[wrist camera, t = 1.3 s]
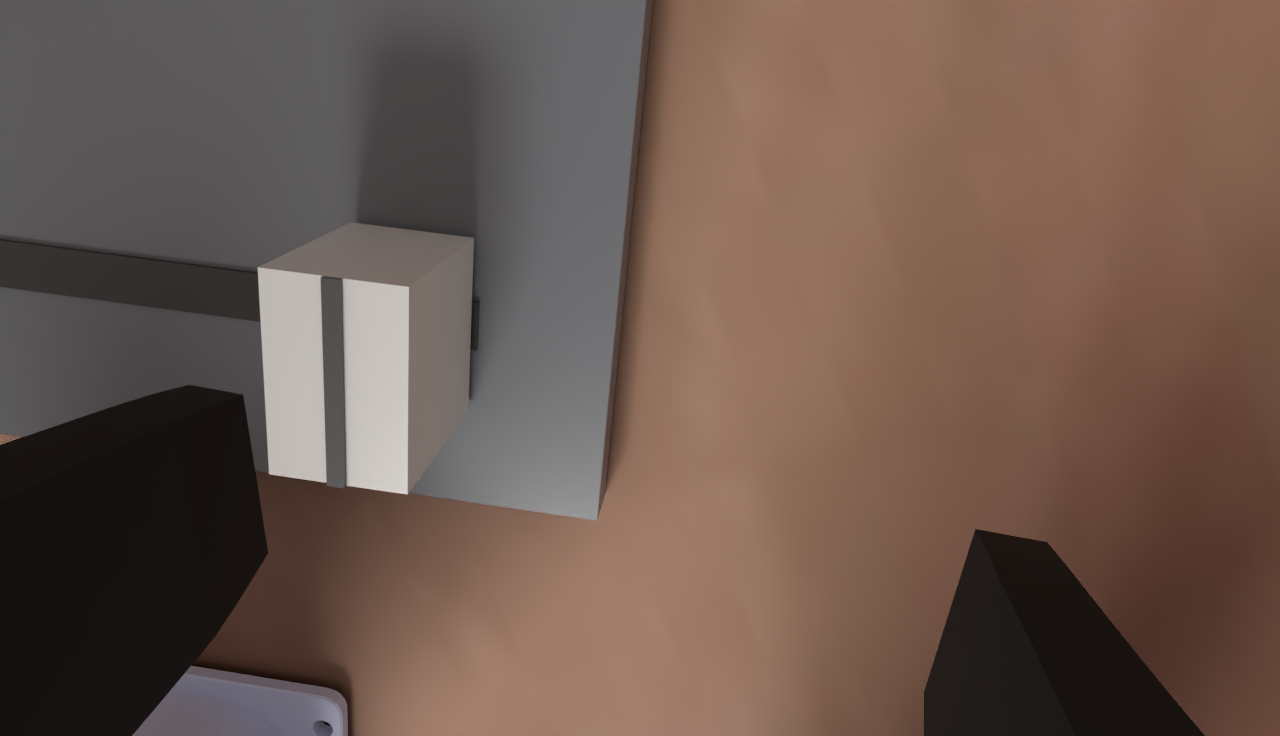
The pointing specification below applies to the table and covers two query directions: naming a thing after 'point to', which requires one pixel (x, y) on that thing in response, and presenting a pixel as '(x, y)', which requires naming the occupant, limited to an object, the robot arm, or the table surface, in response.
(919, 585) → the table surface
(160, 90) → the console
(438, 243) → the block
